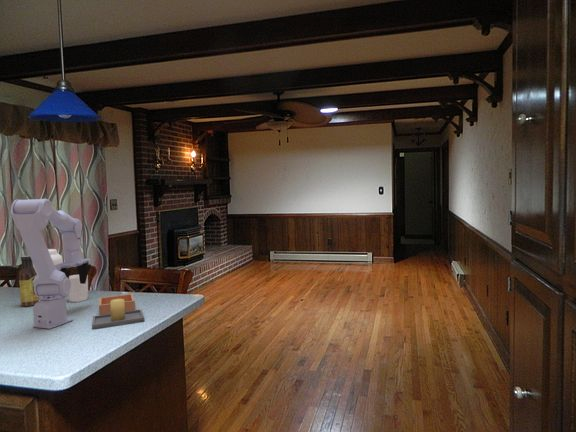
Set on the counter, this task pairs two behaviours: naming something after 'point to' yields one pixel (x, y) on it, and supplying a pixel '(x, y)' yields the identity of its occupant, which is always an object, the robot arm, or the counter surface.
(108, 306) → the orange open box
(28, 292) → the sauce bottle
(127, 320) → the tray
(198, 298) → the counter surface
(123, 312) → the cylinder
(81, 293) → the white cup
